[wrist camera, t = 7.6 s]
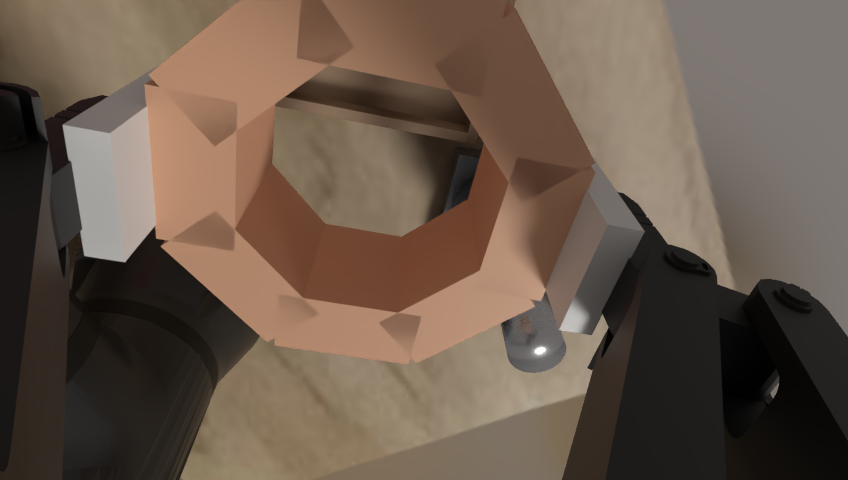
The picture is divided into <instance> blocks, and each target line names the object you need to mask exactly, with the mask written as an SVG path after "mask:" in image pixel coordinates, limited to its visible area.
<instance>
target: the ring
mask: <svg viewBox="0 0 848 480" xmlns="http://www.w3.org/2000/svg"><path fill="white" fill-rule="evenodd" d="M329 65H331V66H335V67H340V68H345V69H350V70H355V71H359V72H364V73H369V74H374V75H379V76H383V77H388V78H393V79H398V80H403V81H407V82H412V83H417V84H422V85H427V86H431V87H436V88H441V89H446V90H451V91H452V93H453V95H454V96H455V98H456V99H457V101H458V102H459V104H460V106H461V107H462V109H463V110H464V112H465V114H466V115H467V117H468V118H469V120H470V122H471V123H472V125H473V126H474V128H475V130H476V131H477V133H478V134H479V136H480V138H481V139H482V141H483V142H484V145H483V148H482V152H481V155H480V159H479V162H478V166H477V169H476V173H475V176H474V180H473V183H472V187H471V190H470V193H469V197H468V200H466V201H464V202H462V203H461V204H459V205H457V206H455V207H454V208H452V209H450V210H448V211H447V212H445V213H443V214H441V215H439V216H438V217H436V218H434V219H432V220H431V221H429V222H427V223H425V224H424V225H422V226H420V227H418V228H416V229H415V230H413V231H411V232H409V233H408V234H406V235H404V236H402V237H399V236H393V235H388V234H382V233H376V232H370V231H364V230H359V229H353V228H347V227H341V226H335V225H329V224H325V223H324V222H323V221H322V220H321V219H320V217H319V216H318V215H317V214H316V213H315V212H314V211H313V210H312V208H311V207H310V206H309V205H308V204H307V203H306V202H305V200H304V199H303V198H302V197H301V196H300V195H299V194H298V193H297V191H296V190H295V189H294V188H293V187H292V186H291V185H290V183H289V182H288V181H287V180H286V179H285V178H284V177H283V176H282V174H281V173H280V172H279V171H278V170H277V169H276V168H275V166H274V165H273V164H272V155H273V138H274V121H275V104H276V103H277V102H278V101H280V100H281V99H282V98H284V97H285V96H287V95H288V94H289V93H291V92H292V91H294V90H295V89H296V88H298V87H299V86H301V85H302V84H303V83H305V82H306V81H308V80H309V79H310V78H312V77H313V76H315V75H316V74H317V73H319V72H320V71H322V70H323V69H324V68H326V67H327V66H329ZM149 76H150V77H151V78H152V80H150V81H148V82H147V83H145V84H144V86H145V99H146V106H147V108H148V121H149V135H150V148H151V161H152V175H153V188H154V201H155V215H156V225H155V230H156V239H161V240H165V241H164V242H163V244H162V245H161V247H162V248H163V249H164V250H165V251H166V252H167V253H168V254H170V255H171V256H172V257H173V258H174V259H175V260H176V261H177V262H178V263H180V264H181V265H182V266H183V267H184V268H185V269H186V270H187V271H188V272H190V273H191V274H192V275H193V276H194V277H195V278H196V279H197V280H198V281H200V282H201V283H202V284H203V285H204V286H205V287H206V288H207V289H208V290H210V291H211V292H212V293H213V294H214V295H215V296H216V297H217V298H218V299H220V300H221V301H222V302H223V303H224V304H225V305H226V306H227V307H228V308H230V309H231V310H232V311H233V312H234V313H235V314H236V315H237V316H239V317H240V318H241V319H242V320H243V321H244V322H245V323H246V324H247V325H249V326H250V327H251V328H252V329H253V330H254V331H255V332H256V333H257V334H259V335H260V336H261V337H262V338H263V339H264V340H265V341H266V342H268V341H270V340H272V339H273V338H275V344H274V345H275V346H282V347H289V348H296V349H303V350H310V351H317V352H324V353H331V354H338V355H345V356H352V357H359V358H366V359H373V360H380V361H387V362H394V363H401V364H409V361H410V357H411V358H412V359H413V360H414V362H415V363H418V362H420V361H422V360H424V359H426V358H429V357H431V356H433V355H435V354H437V353H439V352H441V351H443V350H445V349H447V348H449V347H452V346H454V345H456V344H458V343H460V342H462V341H464V340H466V339H468V338H470V337H473V336H475V335H477V334H479V333H481V332H483V331H485V330H487V329H489V328H491V327H494V326H496V325H498V324H500V323H502V322H504V321H506V320H508V319H510V318H512V317H515V316H517V315H519V314H521V313H523V312H525V311H527V310H529V309H531V308H533V307H535V304H534V301H533V300H537V301H541V300H542V298H543V295H544V293H545V288H546V286H547V283H548V281H549V279H550V276H551V274H552V271H553V269H554V267H555V264H556V262H557V260H558V257H559V255H560V252H561V250H562V248H563V245H564V243H565V241H566V238H567V236H568V234H569V231H570V229H571V226H572V224H573V222H574V219H575V217H576V215H577V212H578V210H579V207H580V205H581V203H582V200H583V198H584V196H585V193H586V191H587V190H588V189H589V187H590V184H591V182H592V180H593V177H594V175H595V171H594V169H593V168H592V166H591V165H593V164H595V162H594V160H593V158H592V156H591V154H590V152H589V150H588V148H587V146H586V144H585V142H584V140H583V138H582V136H581V134H580V133H579V131H578V129H577V127H576V125H575V123H574V121H573V119H572V117H571V115H570V113H569V111H568V109H567V107H566V105H565V103H564V101H563V99H562V98H561V96H560V94H559V92H558V90H557V88H556V86H555V84H554V82H553V80H552V78H551V76H550V74H549V72H548V70H547V68H546V66H545V65H544V63H543V61H542V59H541V57H540V55H539V53H538V51H537V49H536V47H535V45H534V43H533V41H532V39H531V37H530V35H529V33H528V32H527V30H526V28H525V26H524V24H523V22H522V20H521V18H520V16H519V14H518V12H517V10H516V9H515V8H514V7H513V6H512V5H511V4H510V3H509V2H508V0H240V1H239V2H237V3H236V4H235V5H234V6H233V7H231V8H230V9H229V10H228V11H226V12H225V13H224V14H223V15H221V16H220V17H219V18H218V19H216V20H215V21H214V22H213V23H212V24H210V25H209V26H208V27H207V28H205V29H204V30H203V31H202V32H200V33H199V34H198V35H197V36H195V37H194V38H193V39H192V40H191V41H189V42H188V43H187V44H186V45H184V46H183V47H182V48H181V49H179V50H178V51H177V52H176V53H174V54H173V55H172V56H171V57H170V58H168V59H167V60H166V61H165V62H163V63H162V64H161V65H160V66H158V67H157V68H156V69H155V70H153V71H152V72H151V73H150V74H149Z"/></svg>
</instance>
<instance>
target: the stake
mask: <svg viewBox="0 0 848 480" xmlns="http://www.w3.org/2000/svg"><path fill="white" fill-rule="evenodd" d="M481 152H482V151H480V150H475V149H469V148H464V147H459V146H458V148H457V152H456V156H455V160H454V163H453V167H452V171H451V175H450V179H449V183H448V187H447V190H446V194H445V198H444V202H443V206H442V210H441V214H443V213H445V212H447V211H448V210H450V209H452V208H454V207H455V206H457V205H459V204H461V203H462V202H464V201H466V200H468V197H469V193H470V190H471V187H472V183H473V180H474V176H475V173H476V169H477V166H478V162H479V159H480V155H481ZM441 214H440V215H441ZM533 301H534V304H535V307H533V308H531V309H529V310H527V311H525V312H523V313H521V314H519V315H517V316H515V317H512V318H510V319H508V320H506V321H504V322H502V323H501V326H502V331H503V336H504V341H505V346H506V350H507V355H508V359H509V361H510V363H511V364H512V365H513V366H514V367H515V368H517V369H519V370H521V371H524V372H531V373H535V372H542V371H546V370H549V369H551V368H553V367H554V366H556V365H557V364H558V363H559V362H560V361H561V360H562V359H563V357H564V355H565V353H566V344H565V342H564V339H563V336H562V333H561V330H559V328H558V325H557V322H556V319H555V316H554V313H553V310H552V307H551V304H550V301H549V298H548V295H547V292H546V290H545V293H544V295H543V298H542V300H541V301H537V300H533Z"/></svg>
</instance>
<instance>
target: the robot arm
mask: <svg viewBox="0 0 848 480" xmlns="http://www.w3.org/2000/svg"><path fill="white" fill-rule="evenodd" d="M159 66H160V65H159ZM157 67H158V66H157ZM157 67H156V68H157ZM156 68H154V69H152V70H151V71H149V72H148V73H146V74H144V75H143V76H141V77H139V78H138V79H136V80H135V81H133V82H131V83H130V84H128V85H126V86H125V87H123V88H121V89H120V90H118V91H117V92H115V93H113V94H112V95H110V96H104V95H101V96H97V97H93V98H88V99H84V100H80V101H79V102H77V103H75V104H73V105H72V106H70V107H68V108H66V111H65V110H63V111H61V112H59V113H58V114H56V115H55V117H51V118H49V119H47V120H45V121H44V116H43V111H42V106H41V100H40V96H39V94H38V92H37V91H35V90H33V89H31V88H29V87H26V86H22V85H18V84H14V83H4V82H0V480H179V479H180V477H181V474H182V472H183V469H184V466H185V464H186V461H187V459H188V456H189V454H190V451H191V449H192V446H193V443H194V441H195V438H196V436H197V433H198V431H199V428H200V426H201V423H202V420H203V418H204V415H205V413H206V410H207V408H208V405H209V403H210V400H211V397H212V395H213V392H214V390H215V388H216V386H217V383H218V382H219V381H220V380H221V379H222V378H223V377H224V376H225V375H226V374H227V373H228V372H229V371H230V370H231V369H232V368H233V367H234V366H235V365H236V364H237V363H238V361H239V360H240V359H241V358H242V357H243V356H244V355H245V354H246V353H247V352H248V351H249V350H250V349H251V348H252V347H253V346H254V344H255V343H256V341H257V340H258V338H259V336H260V335H259V334H257V333H256V332H255V331H254V330H253V329H252V328H251V327H250V326H249V325H247V324H246V323H245V322H244V321H243V320H242V319H241V318H240V317H239V316H237V315H236V314H235V313H234V312H233V311H232V310H231V309H230V308H228V307H227V306H226V305H225V304H224V303H223V302H222V301H221V300H220V299H218V298H217V297H216V296H215V295H214V294H213V293H212V292H211V291H210V290H208V289H207V288H206V287H205V286H204V285H203V284H202V283H201V282H200V281H198V280H197V279H196V278H195V277H194V276H193V275H192V274H191V273H190V272H188V271H187V270H186V269H185V268H184V267H183V266H182V265H181V264H180V263H178V262H177V261H176V260H175V259H174V258H173V257H172V256H171V255H170V254H168V253H167V252H166V251H165V250H164V249H163V248H162V247H161V245H162V244H163V242H164V241H165V240H161V239H156V230H155V225H156V215H155V201H154V188H153V175H152V161H151V148H150V135H149V121H148V108H147V106H146V99H145V86H144V84H145V83H147V82H148V81H150V80H152V78H151V77H150V76H149V74H150V73H151V72H152V71H153V70H155V69H156ZM591 156H592V155H591ZM592 158H593V157H592ZM593 160H594V158H593ZM594 162H595V164H593V165H591V166H592V168H593V169H594V171H595V175H594V177H593V180H592V182H591V184H590V187H589V189H588V190H587V191H586V193H585V196H584V198H583V200H582V203H581V205H580V207H579V210H578V212H577V215H576V217H575V219H574V222H573V224H572V226H571V229H570V231H569V234H568V236H567V238H566V241H565V243H564V245H563V248H562V250H561V252H560V255H559V257H558V260H557V262H556V264H555V267H554V269H553V271H552V274H551V276H550V279H549V281H548V283H547V286H546V288H545V290H546V292H547V295H548V298H549V301H550V304H551V307H552V310H553V313H554V316H555V319H556V322H557V325H558V328H559V330H563V331H569V332H575V333H582V334H588V335H592V333H593V331H594V330H595V328H596V326H597V324H598V322H599V320H600V318H601V316H602V314H603V316H604V318H605V320H606V322H607V324H608V327H609V328H608V330H607V332H606V334H605V336H604V337H603V339H602V341H601V343H600V345H599V347H598V349H597V351H596V353H595V354H594V356H593V358H592V360H591V362H590V364H589V366H588V369H590V370H593V372H592V375H591V379H590V382H589V386H588V389H587V393H586V397H585V400H584V404H583V407H582V411H581V414H580V418H579V421H578V425H577V428H576V432H575V436H574V439H573V443H572V446H571V450H570V454H569V457H568V460H567V464H566V468H565V471H564V475H563V478H562V480H848V337H847V335H846V334H845V332H844V331H843V330H842V328H841V327H840V326H839V324H838V323H837V322H836V320H835V319H834V318H833V316H832V315H831V314H830V312H829V311H828V310H827V309H826V308H825V307H824V306H823V305H822V304H821V303H820V302H819V301H818V300H817V299H815V298H814V297H812V296H811V295H810V293H809V292H808V291H805V290H804V289H800V287H798V286H796V285H794V284H787V283H785V282H782V281H777V280H772V279H762V280H760V281H759V282H758V283H757V285H756V286H755V288H754V289H753V291H752V292H751V293H750V295H749V296H748V295H745V294H743V293H740V292H737V291H734V290H731V289H728V288H726V287H723V286H720V285H717V275H716V273H715V270H714V269H713V268H712V267H711V265H710V264H708V263H707V262H706V261H705V260H703V259H702V258H700V257H699V256H697V255H696V254H694V253H692V252H690V251H688V250H685V249H683V248H680V247H676V246H673V245H668V244H667V243H666V241H665V240H664V239H663V237H662V236H661V235H660V233H659V232H658V231H657V229H656V228H655V227H654V226H653V224H652V222H651V221H650V220H649V218H647V217H646V214H645V213H644V212H643V210H642V209H641V208H640V206H639V205H638V204H637V203H636V202H634V201H633V200H632V199H630V198H629V197H628V196H626V195H625V194H624V193H619V192H617V191H616V190H615V188H614V187H613V185H612V184H611V183H610V181H609V180H608V178H607V177H606V175H605V174H604V173H603V171H602V170H601V168H600V167H599V165H598V164H597V163H596V161H595V160H594ZM79 232H80V233H81V239H82V245H83V248H82V249H81V251H80V252H79V254H78V256H77V257H76V259H75V261H74V264H73V267H72V270H71V273H70V257H69V251H68V246H67V243H68V242H69V241H71V240H72V239H73V238H74V237H75V236H76V235H77V234H78V233H79ZM778 383H779V387H778V391H777V393H776V395H775V397H774V398H772V396H771V394H770V393H771V391H772V390H773V389H774V388H775V386H776V385H777V384H778Z"/></svg>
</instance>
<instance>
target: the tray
mask: <svg viewBox="0 0 848 480" xmlns="http://www.w3.org/2000/svg"><path fill="white" fill-rule="evenodd" d="M508 2H509V3H510V4H511V5H512V6H513V7H514V4H515V0H508ZM275 106H278V107H283V108H289V109H294V110H299V111H304V112H309V113H314V114H319V115H325V116H330V117H335V118H340V119H345V120H350V121H356V122H361V123H366V124H371V125H376V126H381V127H387V128H392V129H397V130H402V131H407V132H412V133H417V134H423V135H428V136H433V137H438V138H443V139H448V140H454V141H459V142H464V143H469V144H474V145H475V144H476V140H477V137H478V133H477V131H476V130H475V128H474V126H473V125H472V123H471V122H470V120H469V118H468V117H467V115H466V114H465V112H464V110H463V109H462V107H461V106H460V104H459V102H458V101H457V99H456V98H455V96H454V95H453V93H452V91H451V90H446V89H441V88H436V87H431V86H427V85H422V84H417V83H412V82H407V81H403V80H398V79H393V78H388V77H383V76H379V75H374V74H369V73H364V72H359V71H355V70H350V69H345V68H340V67H335V66H331V65H329V66H327V67H326V68H324V69H323V70H322V71H320V72H319V73H317V74H316V75H315V76H313V77H312V78H310V79H309V80H308V81H306V82H305V83H303V84H302V85H301V86H299V87H298V88H296V89H295V90H294V91H292V92H291V93H289V94H288V95H287V96H285V97H284V98H282V99H281V100H280V101H278V102H277V103H276V104H275Z"/></svg>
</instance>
